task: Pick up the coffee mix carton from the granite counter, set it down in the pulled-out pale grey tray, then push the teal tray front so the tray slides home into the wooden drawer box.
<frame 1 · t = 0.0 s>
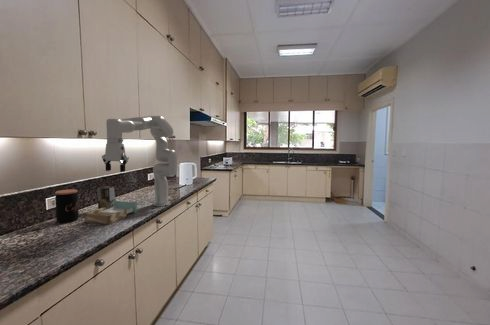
hand: (115, 171, 132), 31 cm above the counter, fingers open, 9 cm apart
wooden drawer box: (106, 219, 142), on the counter
coffee box: (107, 210, 161), on the counter
tray: (118, 209, 151), point 4 cm above the counter, slide at 8.0 cm
coffee jar: (68, 220, 139), on the counter
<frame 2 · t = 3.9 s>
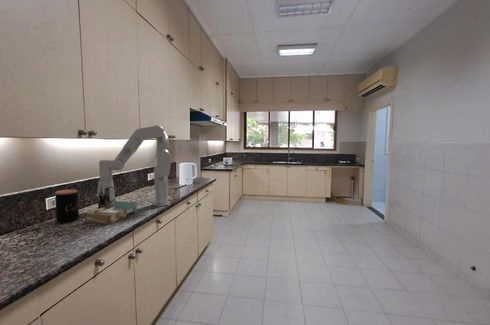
hand: (106, 202, 160), 5 cm above the counter, fingers closed on coffee box, 6 cm apart
coffee box: (107, 210, 161), on the counter, touching gripper
everything else where it was.
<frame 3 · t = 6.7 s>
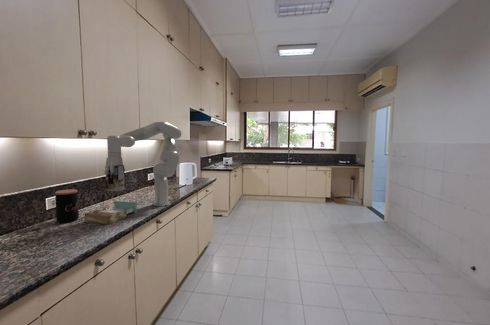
hand: (115, 182, 148), 22 cm above the counter, fingers closed on coffee box, 6 cm apart
coffee box: (115, 190, 149), point 16 cm above the counter, touching gripper
everything else where it was.
when the fingers open (8 cm above the counter, at t = 9.5 s): coffee box stays where it is, resting on tray.
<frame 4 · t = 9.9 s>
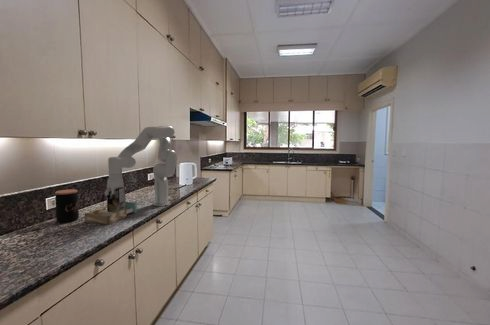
hand: (116, 202, 149), 9 cm above the counter, fingers open, 9 cm apart
coffee box: (116, 212, 150), point 2 cm above the counter, touching tray
tray: (118, 209, 151), point 4 cm above the counter, slide at 7.9 cm, touching coffee box
everything else where it was.
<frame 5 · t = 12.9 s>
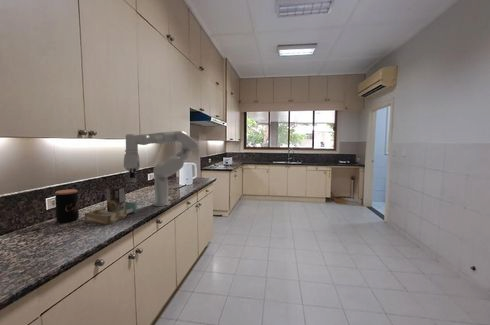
hand: (132, 177, 163), 22 cm above the counter, fingers closed
nothing on the counter moved.
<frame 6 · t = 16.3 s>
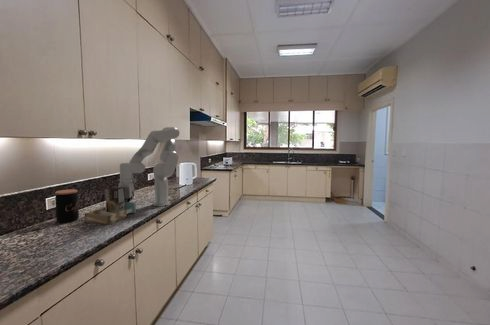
hand: (126, 207, 158), 3 cm above the counter, fingers closed
tray: (117, 209, 150), point 4 cm above the counter, slide at 7.1 cm, touching coffee box, gripper
everything else where it was.
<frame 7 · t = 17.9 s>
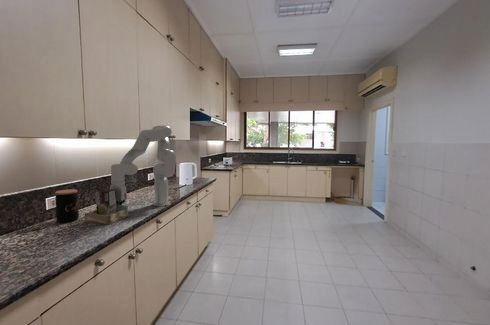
hand: (118, 210, 151), 3 cm above the counter, fingers closed
coffee box: (106, 216, 142), point 2 cm above the counter, touching tray
tray: (108, 212, 143), point 4 cm above the counter, slide at 0.0 cm, touching coffee box, gripper
everything else where it was.
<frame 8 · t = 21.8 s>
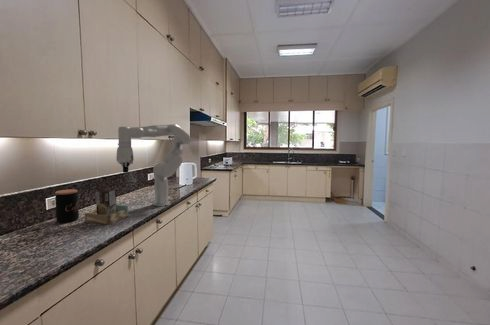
hand: (125, 172, 156), 27 cm above the counter, fingers closed
tray: (108, 212, 143), point 4 cm above the counter, slide at 0.0 cm, touching coffee box
everything else where it was.
at the end: tray slide at 0.0 cm; coffee box inside the target area on the wooden drawer box (0.3 cm from its centre), point 1.9 cm above the wooden drawer box's base; coffee box tilted 0° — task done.
